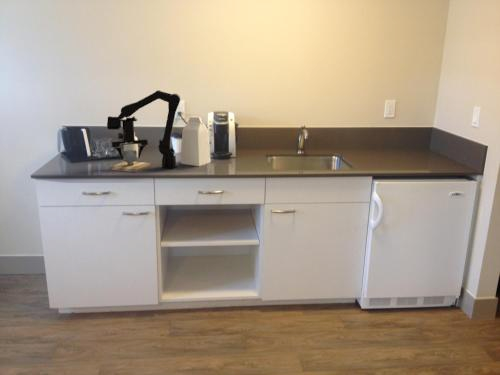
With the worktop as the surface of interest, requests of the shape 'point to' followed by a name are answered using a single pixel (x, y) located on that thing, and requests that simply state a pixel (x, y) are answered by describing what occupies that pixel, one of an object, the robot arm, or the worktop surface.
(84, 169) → the worktop surface
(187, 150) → the milk
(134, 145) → the pill bottle
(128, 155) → the cap
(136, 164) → the base
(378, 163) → the worktop surface
